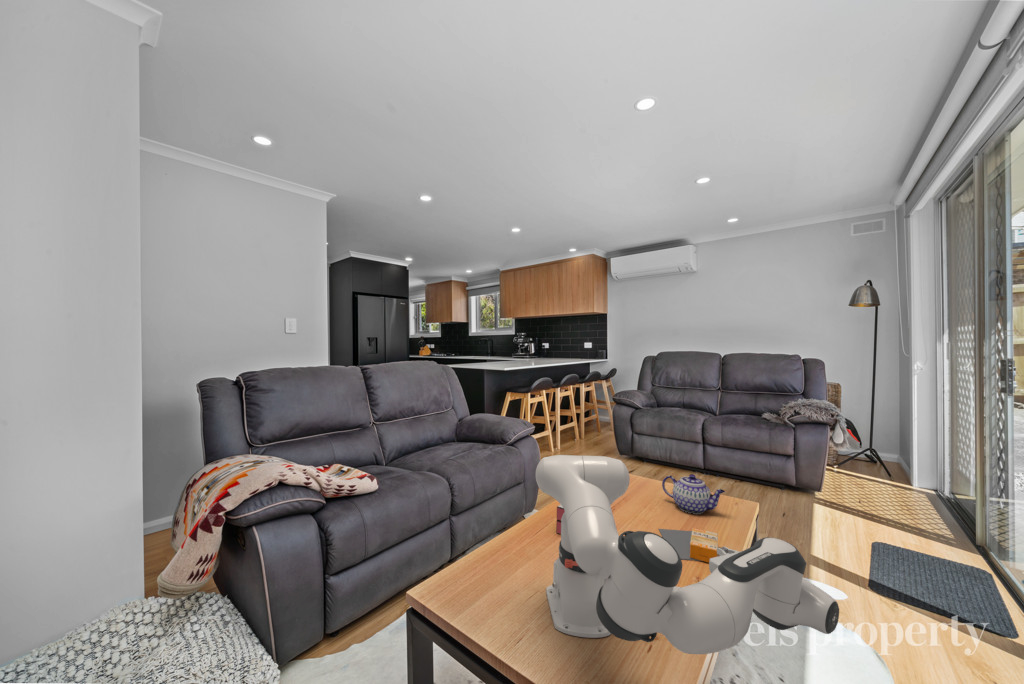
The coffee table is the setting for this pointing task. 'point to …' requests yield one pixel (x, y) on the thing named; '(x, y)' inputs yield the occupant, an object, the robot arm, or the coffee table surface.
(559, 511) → the puzzle cube
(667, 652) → the coffee table surface
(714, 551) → the supplement box
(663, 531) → the mat
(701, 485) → the teapot
